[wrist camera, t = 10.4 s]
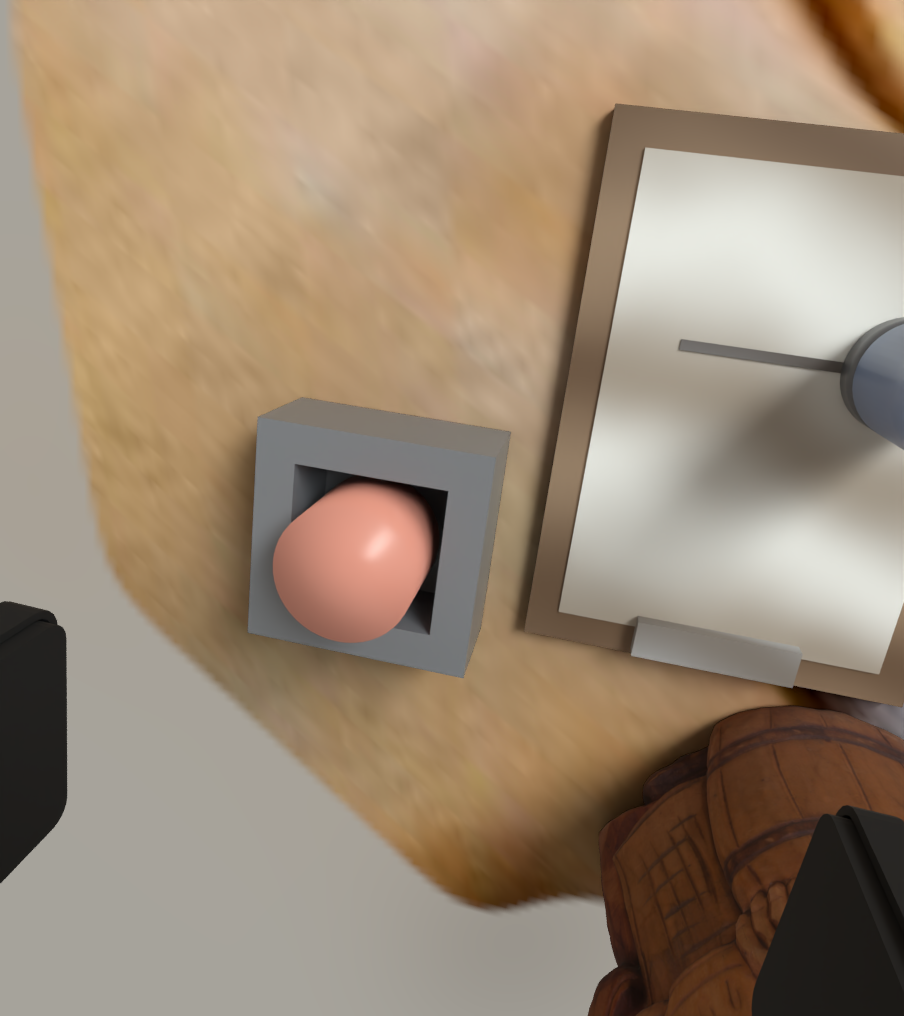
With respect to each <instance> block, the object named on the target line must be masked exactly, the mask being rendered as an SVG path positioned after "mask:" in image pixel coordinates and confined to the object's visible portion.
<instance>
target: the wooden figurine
mask: <svg viewBox="0 0 904 1016" xmlns="http://www.w3.org/2000/svg"><path fill="white" fill-rule="evenodd" d="M643 800H644V806H640V807H637V808H633V809H630V810H627V811H625V812H624V813H622V814H621V815H620V816H618V817H617V818H615V819H614V820H611V821H610V822H608V823H607V824H606V825H605V827H604V828H603V829H602V830H601V831H600V832H599V850H600V862H601V878H602V890H603V896H604V902H605V908H606V917H607V927H608V931H609V935H610V941H611V945H612V949H613V952H614V956H615V959H616V962H617V965H618V967H617V968H615V969H613V970H612V971H611V972H609V973H608V974H607V975H606V976H605V977H603V979H602V980H601V981H600V982H599V984H598V986H597V988H596V991H595V993H594V997H593V1000H592V1003H591V1005H590V1008H589V1013H588V1016H752V1008H751V1007H752V996H753V990H754V986H755V983H756V980H757V978H758V975H759V973H760V970H761V967H762V965H763V962H764V960H765V957H766V955H767V952H768V949H769V947H770V944H771V942H772V939H773V936H774V934H775V931H776V929H777V926H778V924H779V921H780V918H781V916H782V913H783V911H784V908H785V905H786V903H787V900H788V898H789V895H790V892H791V890H792V887H793V885H794V882H795V880H796V877H797V874H798V872H799V869H800V867H801V864H802V861H803V859H804V856H805V854H806V851H807V848H808V846H809V843H810V841H811V838H812V836H813V833H814V830H815V828H816V825H817V823H818V821H819V819H820V817H821V816H822V815H823V814H831V815H836V813H837V811H838V810H839V809H840V808H841V807H842V806H845V805H850V806H854V807H858V808H862V809H866V810H870V811H875V812H879V813H883V814H887V815H891V816H895V817H898V818H900V819H902V820H903V821H904V740H903V739H901V738H899V737H898V736H896V735H894V734H892V733H890V732H888V731H886V730H884V729H881V728H879V727H876V726H874V725H871V724H869V723H866V722H864V721H861V720H859V719H856V718H854V717H852V716H850V715H848V714H845V713H842V712H837V711H833V710H818V709H812V708H807V707H801V706H783V707H766V708H759V709H756V710H750V711H744V712H740V713H737V714H735V715H732V716H730V717H728V718H726V719H724V720H722V721H720V722H719V723H717V724H716V725H715V727H714V729H713V732H712V734H711V735H710V742H709V746H708V747H706V748H704V749H702V750H700V751H697V752H694V753H691V754H688V755H685V756H682V757H680V758H679V759H677V760H676V761H675V762H674V763H673V764H671V765H669V766H667V767H665V768H662V769H660V770H658V771H656V772H655V773H653V774H652V775H651V776H650V777H649V778H648V779H647V780H646V782H645V784H644V787H643Z"/></svg>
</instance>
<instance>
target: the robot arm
mask: <svg viewBox="0 0 904 1016" xmlns="http://www.w3.org/2000/svg"><path fill="white" fill-rule="evenodd" d="M66 684H67V679H66V633H65V631H64V629H63V628H62V627H61V626H59V625H57V620H56V618H55V616H54V614H52V613H51V612H50V611H47V610H43V609H38V608H35V607H31V606H26V605H22V604H18V603H14V602H6V601H4V602H1V603H0V883H1V882H2V881H3V880H4V879H5V878H6V877H7V876H8V875H9V874H10V873H11V872H12V871H13V870H14V869H15V868H16V867H17V866H18V865H19V864H20V862H21V861H22V860H23V859H24V858H25V857H26V856H27V855H28V854H29V853H30V852H31V851H32V850H33V849H34V848H35V847H36V846H37V845H38V844H39V843H40V841H42V839H43V838H44V837H45V836H46V835H47V834H48V833H49V832H50V831H51V830H52V829H53V828H54V827H55V825H56V824H57V823H58V821H59V819H60V818H61V816H62V813H63V811H64V809H65V805H66V801H67V698H66V697H67V686H66ZM751 1008H752V1016H904V821H903V820H902V819H900V818H898V817H895V816H891V815H887V814H883V813H879V812H875V811H870V810H866V809H862V808H858V807H854V806H850V805H845V806H842V807H841V808H840V809H839V810H838V811H837V813H836V815H831V814H823V815H822V816H821V817H820V819H819V821H818V823H817V825H816V828H815V830H814V833H813V836H812V838H811V841H810V843H809V846H808V848H807V851H806V854H805V856H804V859H803V861H802V864H801V867H800V869H799V872H798V874H797V877H796V880H795V882H794V885H793V887H792V890H791V892H790V895H789V898H788V900H787V903H786V905H785V908H784V911H783V913H782V916H781V918H780V921H779V924H778V926H777V929H776V931H775V934H774V936H773V939H772V942H771V944H770V947H769V949H768V952H767V955H766V957H765V960H764V962H763V965H762V967H761V970H760V973H759V975H758V978H757V980H756V983H755V986H754V990H753V996H752V1007H751Z"/></svg>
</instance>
